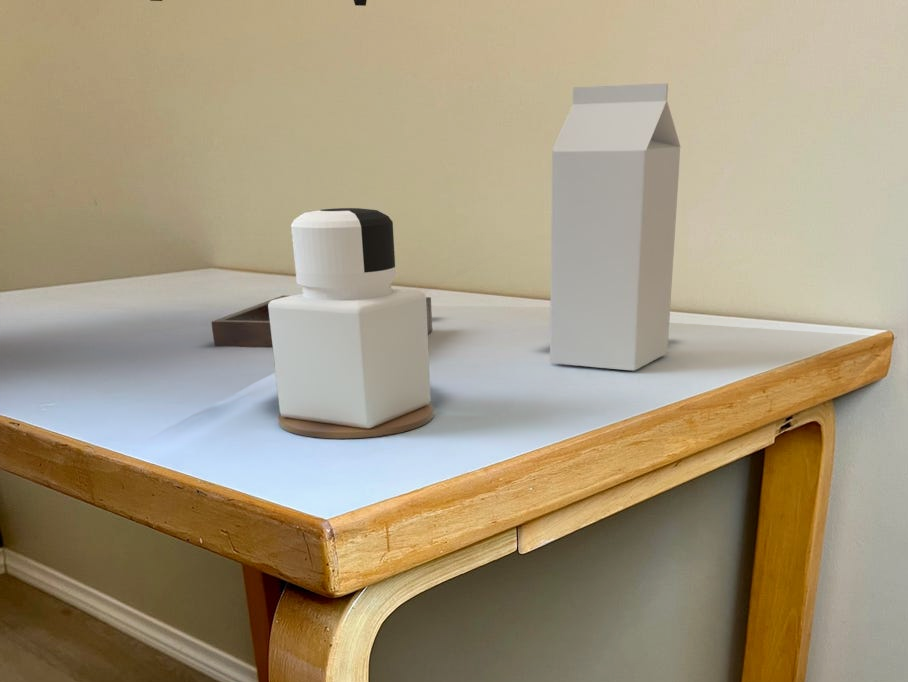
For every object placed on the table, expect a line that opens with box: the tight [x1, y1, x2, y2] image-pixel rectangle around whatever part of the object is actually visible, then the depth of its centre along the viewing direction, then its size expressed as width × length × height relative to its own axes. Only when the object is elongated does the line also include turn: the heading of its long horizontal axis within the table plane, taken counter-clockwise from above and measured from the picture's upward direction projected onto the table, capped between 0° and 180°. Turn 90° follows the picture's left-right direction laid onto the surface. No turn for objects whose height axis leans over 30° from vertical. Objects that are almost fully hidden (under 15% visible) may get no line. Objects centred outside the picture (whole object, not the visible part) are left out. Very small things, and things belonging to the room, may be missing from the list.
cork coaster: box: [277, 403, 435, 440], centre depth 65 cm, size 10×10×1 cm
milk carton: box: [549, 82, 681, 371], centre depth 75 cm, size 7×7×19 cm
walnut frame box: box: [211, 295, 433, 349], centre depth 88 cm, size 15×15×3 cm
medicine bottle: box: [268, 207, 432, 429], centre depth 62 cm, size 7×7×12 cm
